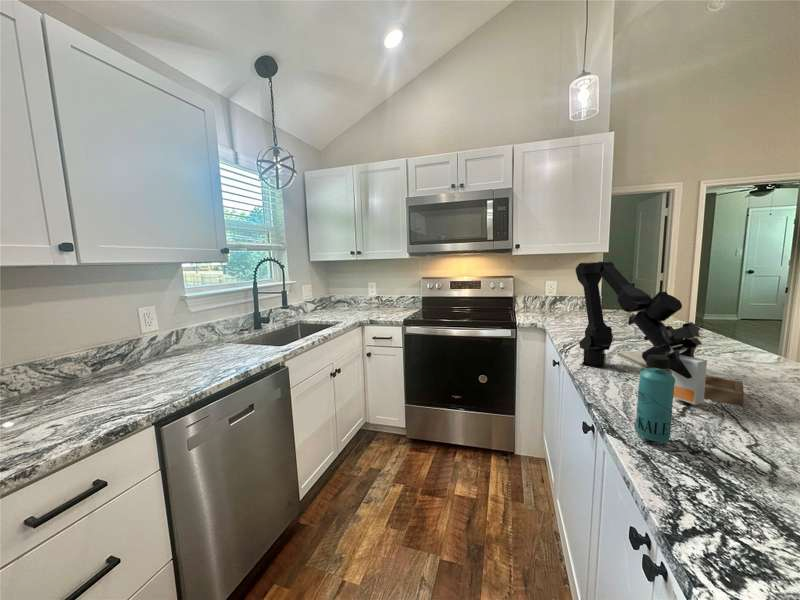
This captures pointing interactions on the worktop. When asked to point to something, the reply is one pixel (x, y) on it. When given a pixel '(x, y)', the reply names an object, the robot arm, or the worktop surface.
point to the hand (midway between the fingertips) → (694, 376)
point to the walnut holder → (724, 390)
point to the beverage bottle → (655, 400)
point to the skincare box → (691, 381)
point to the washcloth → (635, 358)
